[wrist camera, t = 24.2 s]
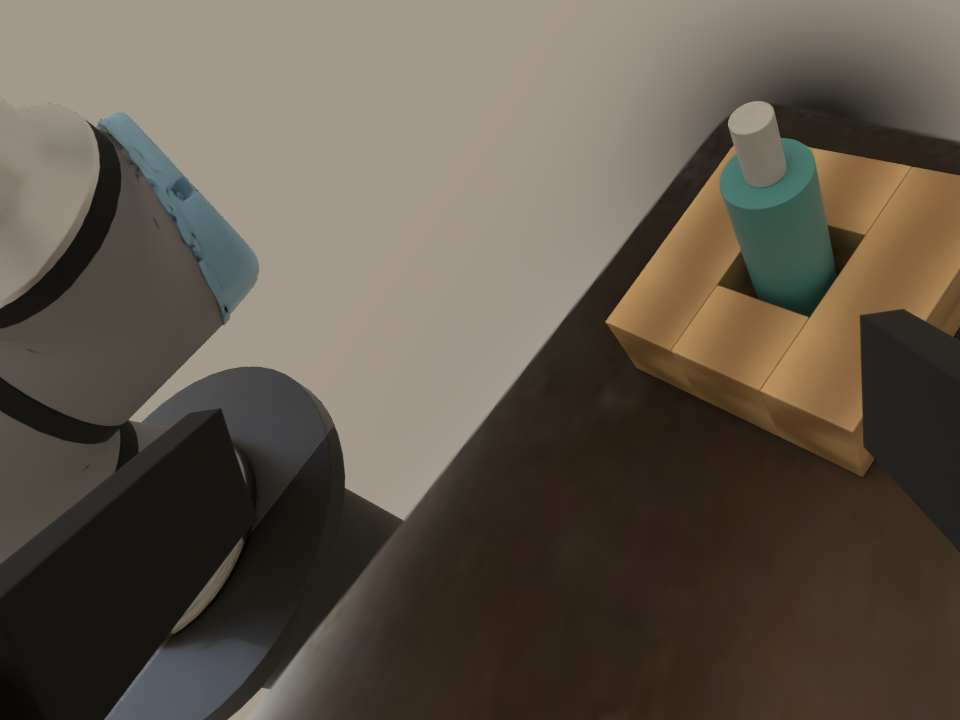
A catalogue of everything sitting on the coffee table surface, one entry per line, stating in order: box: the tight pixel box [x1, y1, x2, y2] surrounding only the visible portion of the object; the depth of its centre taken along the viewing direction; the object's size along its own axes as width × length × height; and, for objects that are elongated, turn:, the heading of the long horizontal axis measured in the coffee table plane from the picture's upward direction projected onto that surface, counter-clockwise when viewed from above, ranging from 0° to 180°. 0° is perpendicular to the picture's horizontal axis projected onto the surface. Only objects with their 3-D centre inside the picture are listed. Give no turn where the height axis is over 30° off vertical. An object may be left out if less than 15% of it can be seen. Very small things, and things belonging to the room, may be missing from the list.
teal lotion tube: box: [719, 101, 837, 318], centre depth 31 cm, size 4×4×14 cm
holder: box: [606, 146, 960, 477], centre depth 34 cm, size 13×13×5 cm
